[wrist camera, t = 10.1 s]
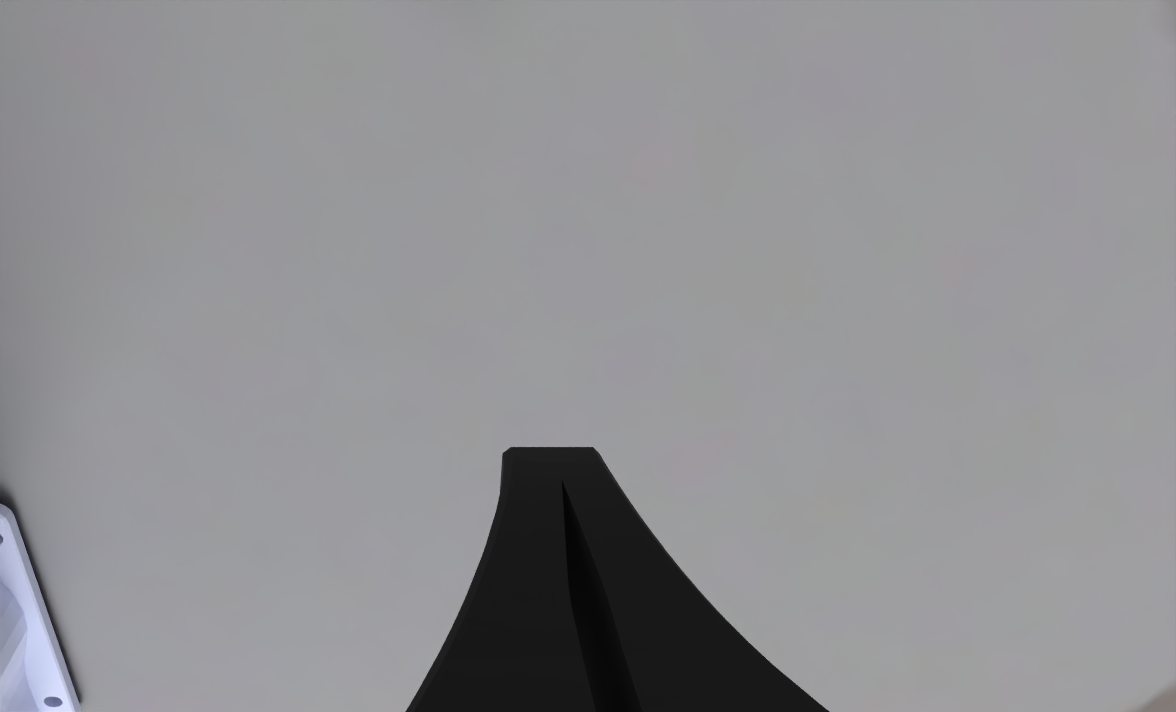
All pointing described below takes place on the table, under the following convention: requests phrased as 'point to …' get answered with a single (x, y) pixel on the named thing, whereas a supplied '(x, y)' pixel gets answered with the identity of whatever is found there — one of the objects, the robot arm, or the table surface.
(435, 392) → the table surface
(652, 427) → the table surface
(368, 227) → the table surface
